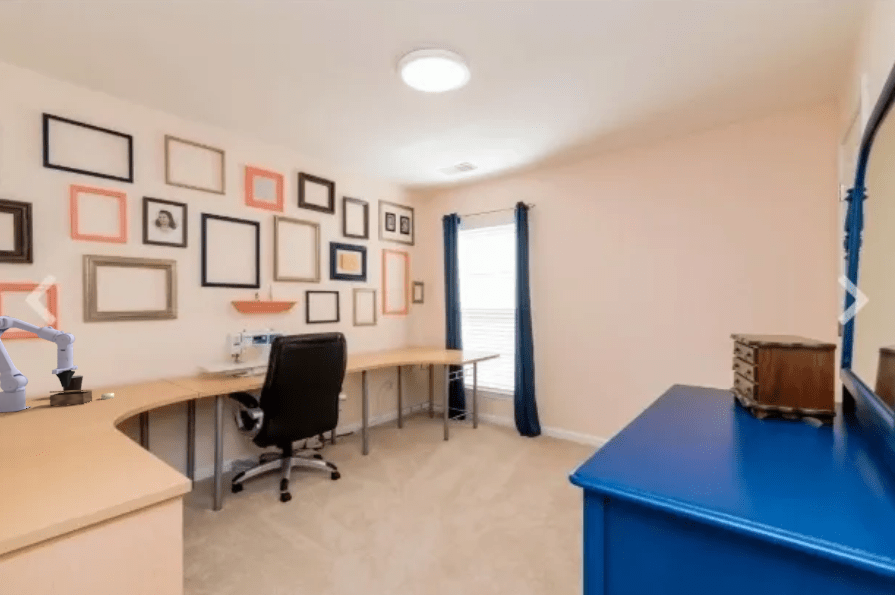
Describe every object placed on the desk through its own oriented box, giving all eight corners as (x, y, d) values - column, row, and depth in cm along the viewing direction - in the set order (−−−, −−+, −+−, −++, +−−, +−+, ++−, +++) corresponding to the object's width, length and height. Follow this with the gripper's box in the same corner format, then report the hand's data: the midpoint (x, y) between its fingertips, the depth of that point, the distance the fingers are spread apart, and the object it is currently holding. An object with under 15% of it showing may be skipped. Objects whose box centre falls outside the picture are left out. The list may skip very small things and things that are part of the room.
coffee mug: (65, 395, 228) (65, 376, 228) (85, 393, 231) (85, 374, 231) (56, 399, 217) (56, 379, 217) (77, 397, 221) (77, 378, 221)
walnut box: (50, 406, 202) (50, 395, 202) (59, 402, 209) (59, 392, 209) (83, 404, 205) (83, 393, 205) (92, 401, 211) (91, 391, 211)
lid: (49, 392, 202) (49, 391, 202) (59, 392, 209) (59, 391, 209) (83, 391, 205) (83, 389, 205) (92, 390, 211) (92, 389, 211)
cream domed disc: (98, 400, 215) (98, 395, 215) (105, 397, 220) (105, 393, 220) (110, 399, 215) (110, 394, 215) (116, 397, 221) (116, 392, 221)
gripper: (64, 360, 197) (64, 389, 197) (84, 356, 211) (84, 383, 211) (46, 360, 195) (46, 390, 195) (68, 356, 210) (68, 384, 210)
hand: (65, 386), depth 203 cm, fingers closed
